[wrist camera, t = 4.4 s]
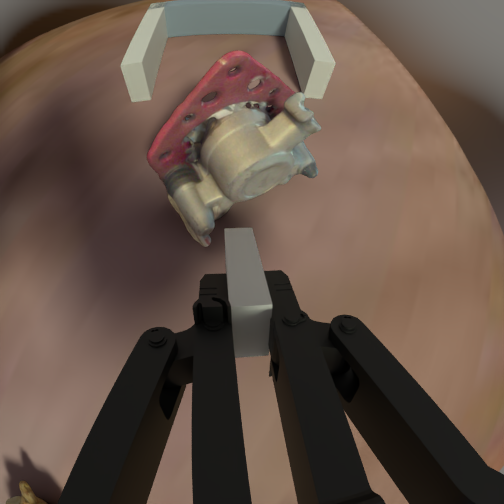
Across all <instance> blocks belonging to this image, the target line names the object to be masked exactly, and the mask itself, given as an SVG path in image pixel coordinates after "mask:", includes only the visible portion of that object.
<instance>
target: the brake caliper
mask: <svg viewBox="0 0 504 504" xmlns="http://www.w3.org/2000/svg"><path fill="white" fill-rule="evenodd" d="M233 68H236V69H235V70H233V71H230V70H232V69H233ZM229 71H230V72H229ZM257 79H259V80H260V83H259V85H257V86H256V87H255V88H253V89H248V85H249V84H250V83H251V82H252V81H254V80H257ZM272 90H273V91H272ZM271 91H272V92H271ZM211 92H216V95H215V97H214V98H213V99H212V100H210V101H207V102H203V101H201V100H202V98H203V97H205V96H206V95H207V94H209V93H211ZM270 92H271V93H270ZM304 100H305V95H304V94H303V93H302V92H297V93H295V92H294V91H292V90H291V89H290V88H289V87H288V86H286V85H285V84H284V83H283V82H282V81H281V80H280V78H279V77H277V76H276V75H274V74H273V73H272V72H271V71H270V70H269V69H267V68H265V67H264V66H263V65H262V64H260V63H259V62H258V61H256V60H255V59H253V58H252V57H251V56H250V55H249V54H248V53H246V52H243V51H238V50H237V51H232V52H229V53H226V54H225V55H224V56H222V57H221V58H220V59H219V60H218V61H216V62H215V64H214V65H213V66H212V67H211V68H210V69H209V71H208V72H207V73H206V74H205V76H204V77H203V78H202V79H201V80H200V82H199V83H198V84H197V85H196V86H195V88H194V89H193V90H192V91H191V93H190V94H189V95H188V96H187V97H186V98H185V100H184V101H183V102H182V103H181V104H180V105H179V106H177V108H176V109H175V110H174V112H173V113H172V115H171V117H170V118H169V120H168V121H167V122H166V123H165V124H164V125H163V127H162V128H161V130H160V131H159V133H158V134H157V136H156V137H155V140H154V141H153V144H152V146H151V148H150V149H149V151H148V153H147V160H148V163H149V165H150V166H151V167H152V168H153V169H154V170H155V171H156V172H157V173H158V175H159V177H160V179H161V180H162V181H163V182H164V184H165V186H166V189H167V196H168V199H169V201H170V203H171V205H172V206H173V207H174V209H175V210H176V211H177V212H178V213H179V215H180V217H181V219H182V220H183V222H184V224H185V227H186V228H187V230H188V232H189V233H190V234H191V236H192V237H193V238H194V240H196V241H197V242H199V243H200V244H201V245H202V246H204V247H207V246H209V245H210V243H211V238H210V236H209V234H210V233H211V232H212V231H213V229H214V227H215V222H214V220H216V219H219V218H220V217H222V216H223V215H224V214H226V213H227V212H228V211H229V209H230V208H231V206H232V205H233V204H234V203H236V202H243V201H247V200H250V199H253V198H255V197H257V196H260V195H262V194H264V193H266V192H267V191H269V190H271V189H272V188H274V187H275V186H277V185H283V184H286V183H287V182H288V181H289V180H290V179H291V177H293V176H294V175H297V174H302V175H305V176H307V177H309V178H314V177H316V176H317V174H318V170H317V167H316V163H315V160H314V158H313V156H312V155H311V153H310V152H309V151H308V149H307V148H306V146H305V144H304V142H303V140H305V139H306V138H307V137H308V136H310V135H311V134H313V133H316V132H318V131H320V130H321V127H320V125H319V124H318V123H317V121H316V120H315V118H314V117H313V115H314V113H313V111H310V110H309V109H308V108H305V107H304ZM246 103H250V104H251V105H252V106H251V108H247V107H246V106H245V105H246ZM253 104H258V105H259V106H258V107H257V108H256V107H254V105H253ZM268 105H272V106H271V107H268ZM187 115H191V116H190V118H186V116H187Z"/></svg>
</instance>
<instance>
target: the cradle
mask: <svg viewBox="0 0 504 504" xmlns="http://www.w3.org/2000/svg"><path fill="white" fill-rule="evenodd" d="M204 34H259V35H275V36H285V39H286V42H287V45H288V48H289V52H290V55H291V58H292V61H293V64H294V68H295V71H296V74H297V78H298V81H299V85H300V88H301V92H302V93H303V94H304V95H305V98H315V99H322V97H323V95H324V92H325V90H326V87H327V84H328V82H329V79H330V77H331V74H332V72H333V69H334V67H335V64H336V63H335V61H334V59H333V57H332V55H331V53H330V51H329V49H328V47H327V45H326V43H325V41H324V39H323V37H322V35H321V33H320V31H319V29H318V28H317V26H316V24H315V22H314V20H313V18H312V17H311V15H310V13H309V12H308V10H307V8H306V6H305V5H304V3H298V2H291V1H282V0H177V1H168V2H161V3H154V4H151V5H150V7H149V9H148V10H147V12H146V14H145V16H144V18H143V20H142V21H141V23H140V25H139V27H138V29H137V31H136V33H135V35H134V37H133V39H132V41H131V43H130V45H129V48H128V50H127V52H126V54H125V56H124V59H123V61H122V63H121V69H122V72H123V76H124V79H125V82H126V85H127V88H128V92H129V95H130V98H131V101H132V102H138V101H146V100H151V98H152V93H153V89H154V85H155V81H156V77H157V73H158V69H159V66H160V62H161V59H162V55H163V52H164V48H165V45H166V42H167V38H168V37H177V36H188V35H204Z"/></svg>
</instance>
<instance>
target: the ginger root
mask: <svg viewBox="0 0 504 504" xmlns="http://www.w3.org/2000/svg"><path fill="white" fill-rule="evenodd" d="M19 487H20V490H21V495H22V496H21V497H20V496H15V497H13V498H10V499H8V500H7V501H6V504H47V503H46V502H45V501H43V500H42V499H40V498H38V497H36V496H35V494H34V493H33V491H32V489H31V487H30V486H29V485H28V483H26V482H25V481H20V482H19Z"/></svg>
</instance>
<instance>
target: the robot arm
mask: <svg viewBox="0 0 504 504" xmlns="http://www.w3.org/2000/svg"><path fill="white" fill-rule="evenodd" d="M224 232H225V262H226V274H205V275H204V277H203V278H202V279H201V281H200V291H199V299H198V300H197V301H196V302H195V303H194V305H193V314H194V321H195V324H194V325H193V326H192V327H191V328H189V329H188V330H185V331H182V332H179V333H175V334H174V333H173V332H172V331H171V330H170V329H167V328H165V327H155V328H151V329H149V330H147V331H145V332H144V333H143V334H142V336H141V337H140V339H139V340H138V342H137V344H136V346H135V347H134V349H133V351H132V353H131V354H130V356H129V358H128V360H127V362H126V363H125V365H124V367H123V369H122V371H121V373H120V374H119V376H118V378H117V380H116V382H115V384H114V386H113V388H112V389H111V391H110V393H109V395H108V397H107V399H106V401H105V403H104V405H103V407H102V409H101V411H100V413H99V415H98V417H97V419H96V421H95V423H94V425H93V427H92V429H91V431H90V433H89V435H88V437H87V439H86V441H85V443H84V445H83V447H82V449H81V451H80V454H79V456H78V458H77V460H76V462H75V464H74V467H73V469H72V471H71V473H70V476H69V478H68V480H67V482H66V485H65V487H64V489H63V492H62V494H61V496H60V499H59V501H58V504H146V503H147V500H148V497H149V494H150V491H151V488H152V485H153V482H154V479H155V476H156V473H157V470H158V467H159V464H160V461H161V458H162V455H163V452H164V449H165V446H166V443H167V440H168V437H169V434H170V431H171V428H172V425H173V422H174V420H175V417H176V414H177V411H178V408H179V405H180V402H181V399H182V396H183V394H184V391H185V388H186V384H189V383H192V382H193V384H192V485H193V504H252V502H251V495H250V487H249V480H248V472H247V464H246V456H245V448H244V439H243V430H242V422H241V413H240V403H239V394H238V384H237V374H236V364H235V358H237V357H253V356H266V355H269V350H270V355H271V361H270V371H269V377H270V376H272V377H273V382H274V387H275V392H276V397H277V402H278V407H279V412H280V417H281V422H282V427H283V432H284V437H285V442H286V447H287V452H288V457H289V462H290V467H291V472H292V476H293V481H294V486H295V491H296V496H297V501H298V504H385V502H384V500H383V499H382V498H381V496H380V495H378V494H376V493H374V492H373V491H372V490H371V488H370V485H369V483H368V479H367V476H366V473H365V470H364V467H363V464H362V461H361V458H360V455H359V452H358V449H357V446H356V444H355V441H354V438H353V435H352V432H351V429H350V426H349V423H348V421H347V418H346V415H345V412H346V414H347V415H348V417H349V418H350V420H351V421H352V422H353V424H354V425H355V427H356V428H357V430H358V431H359V433H360V434H361V436H362V437H363V438H364V440H365V441H366V443H367V444H368V446H369V447H370V448H371V450H372V451H373V453H374V454H375V456H376V457H377V459H378V460H379V461H380V463H381V464H382V466H383V467H384V469H385V470H386V471H387V473H388V474H389V476H390V477H391V478H392V480H393V481H394V483H395V484H396V486H397V487H398V488H399V490H400V491H401V493H402V494H403V495H404V497H405V498H406V500H407V501H408V502H409V504H504V475H503V474H501V473H500V472H498V471H496V470H494V469H492V468H490V467H489V466H487V464H486V463H485V462H484V461H483V459H482V458H481V457H480V456H479V454H478V453H477V452H476V451H475V449H474V448H473V447H472V446H471V445H470V443H469V442H468V441H467V440H466V439H465V437H464V436H463V435H462V434H461V433H460V431H459V430H458V429H457V428H456V427H455V425H454V424H453V423H452V422H451V421H450V420H449V418H448V417H447V416H446V415H445V414H444V413H443V411H442V410H441V409H440V408H439V407H438V406H437V404H436V403H435V402H434V401H433V400H432V399H431V397H430V396H429V395H428V394H427V393H426V392H425V391H424V390H423V388H422V387H421V386H420V385H419V384H418V383H417V382H416V380H415V379H414V378H413V377H412V376H411V375H410V374H409V373H408V372H407V370H406V369H405V368H404V367H403V366H402V365H401V364H400V363H399V362H398V360H397V359H396V358H395V357H394V356H393V355H392V354H391V353H390V352H389V351H388V349H387V348H386V347H385V346H384V345H383V344H382V343H381V342H380V341H379V340H378V339H377V338H376V336H375V335H374V334H373V333H372V332H371V331H370V330H369V329H368V328H367V327H366V326H365V325H364V324H363V323H362V321H360V320H359V319H358V318H356V317H353V316H351V315H339V316H337V317H335V318H333V320H332V321H331V324H330V323H322V322H317V321H313V320H311V319H310V318H309V317H308V315H307V314H306V313H305V312H303V311H302V310H300V307H299V304H298V302H297V299H296V296H295V294H294V291H293V288H292V286H291V284H290V281H289V278H288V276H287V275H286V274H285V273H284V272H283V271H281V270H277V271H264V270H263V267H262V263H261V259H260V255H259V252H258V248H257V244H256V240H255V237H254V233H253V229H252V228H224ZM344 411H345V412H344Z"/></svg>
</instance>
